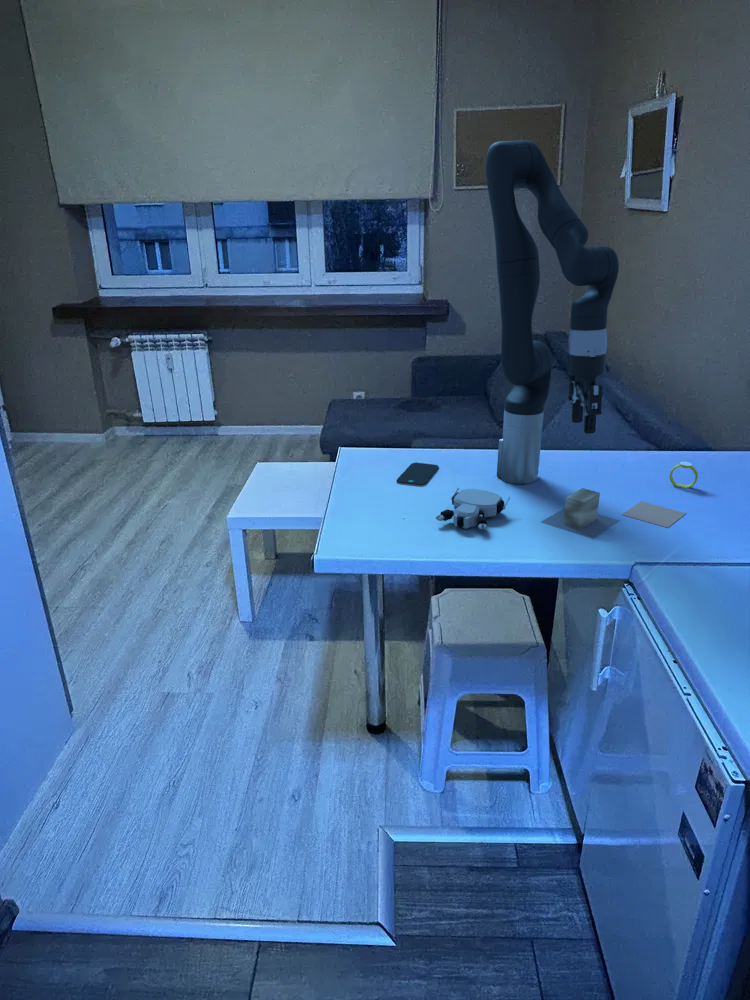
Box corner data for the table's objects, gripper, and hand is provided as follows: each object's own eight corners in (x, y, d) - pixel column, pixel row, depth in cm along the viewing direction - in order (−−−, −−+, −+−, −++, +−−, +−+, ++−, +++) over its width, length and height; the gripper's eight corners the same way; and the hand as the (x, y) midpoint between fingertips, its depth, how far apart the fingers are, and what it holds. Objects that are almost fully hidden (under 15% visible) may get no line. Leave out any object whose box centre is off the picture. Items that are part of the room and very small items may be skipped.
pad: (621, 515, 148) (621, 514, 147) (641, 502, 154) (641, 501, 154) (667, 528, 141) (667, 527, 141) (686, 514, 148) (686, 513, 148)
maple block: (563, 523, 144) (566, 497, 141) (579, 513, 148) (582, 488, 146) (580, 529, 141) (584, 502, 139) (596, 518, 146) (600, 492, 143)
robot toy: (487, 542, 139) (510, 511, 150) (487, 522, 137) (511, 492, 148) (431, 530, 144) (458, 501, 156) (431, 511, 142) (459, 483, 154)
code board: (540, 522, 144) (540, 521, 144) (568, 506, 153) (568, 505, 152) (593, 539, 137) (593, 538, 137) (619, 521, 145) (619, 520, 145)
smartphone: (394, 481, 167) (412, 461, 180) (394, 484, 167) (412, 464, 180) (424, 484, 164) (440, 465, 177) (424, 488, 164) (440, 468, 177)
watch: (695, 488, 163) (701, 464, 160) (693, 491, 161) (699, 468, 158) (668, 481, 166) (674, 459, 163) (666, 485, 163) (672, 462, 161)
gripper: (559, 346, 146) (556, 420, 152) (579, 358, 133) (575, 438, 139) (593, 344, 146) (589, 418, 152) (617, 355, 133) (612, 435, 139)
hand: (583, 427), depth 145 cm, fingers open, 8 cm apart
